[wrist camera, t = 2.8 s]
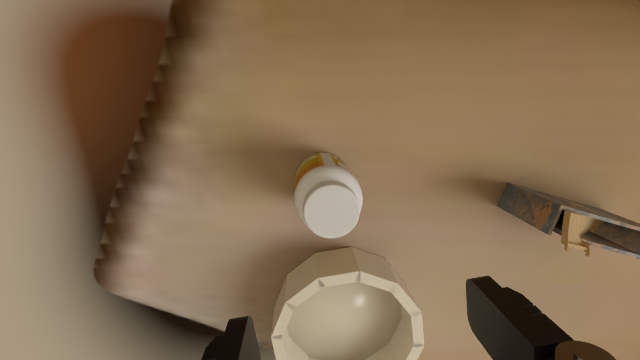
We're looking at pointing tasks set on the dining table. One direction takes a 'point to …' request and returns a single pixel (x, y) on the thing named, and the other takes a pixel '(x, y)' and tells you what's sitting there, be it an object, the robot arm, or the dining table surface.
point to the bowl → (346, 310)
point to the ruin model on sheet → (573, 221)
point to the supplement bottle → (327, 195)
